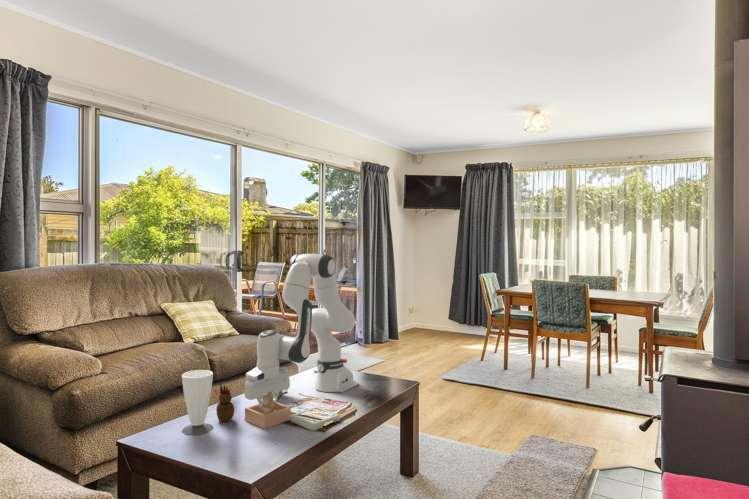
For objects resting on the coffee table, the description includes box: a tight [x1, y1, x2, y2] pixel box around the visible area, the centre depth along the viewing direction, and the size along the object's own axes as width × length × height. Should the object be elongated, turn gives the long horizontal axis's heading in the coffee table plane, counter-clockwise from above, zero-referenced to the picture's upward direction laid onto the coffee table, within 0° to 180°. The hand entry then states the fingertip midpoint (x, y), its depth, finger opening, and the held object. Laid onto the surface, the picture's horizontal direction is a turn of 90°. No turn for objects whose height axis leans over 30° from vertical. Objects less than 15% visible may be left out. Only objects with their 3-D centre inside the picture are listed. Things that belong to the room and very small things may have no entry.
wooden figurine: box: [216, 383, 235, 423], centre depth 200 cm, size 7×6×15 cm
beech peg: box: [261, 391, 274, 415], centre depth 201 cm, size 4×4×12 cm
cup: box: [181, 369, 214, 436], centre depth 191 cm, size 12×12×22 cm
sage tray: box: [289, 406, 341, 431], centre depth 201 cm, size 14×14×2 cm
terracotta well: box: [244, 402, 292, 429], centre depth 201 cm, size 13×13×5 cm
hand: (267, 405), depth 201 cm, fingers closed on beech peg, 4 cm apart
